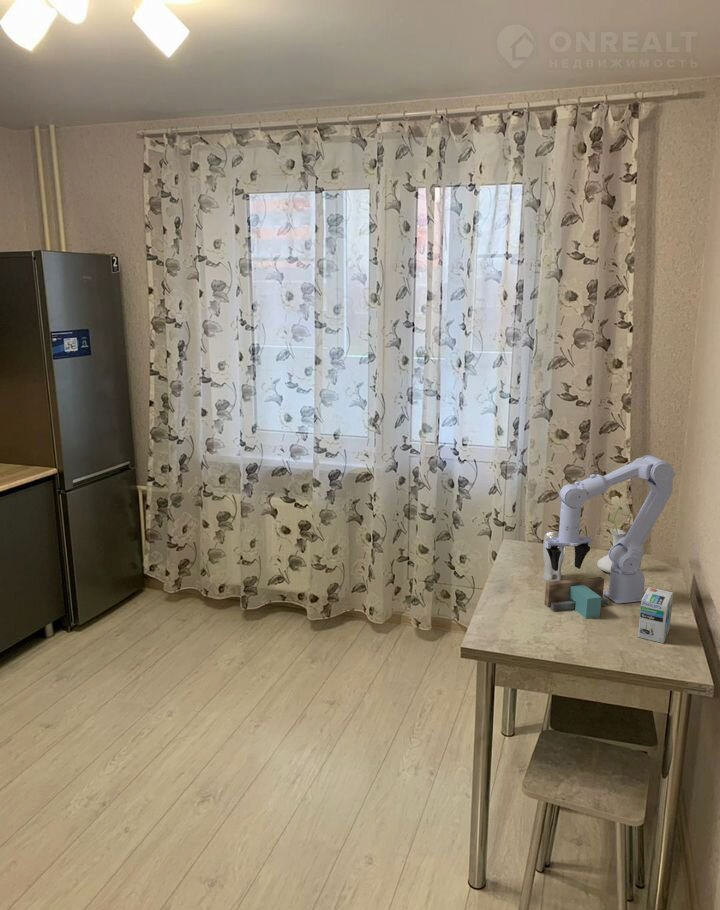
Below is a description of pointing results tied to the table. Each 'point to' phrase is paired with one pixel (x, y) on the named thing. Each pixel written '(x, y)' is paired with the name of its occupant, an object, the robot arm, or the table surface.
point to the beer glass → (549, 573)
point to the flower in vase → (614, 531)
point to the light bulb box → (655, 615)
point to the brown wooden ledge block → (560, 592)
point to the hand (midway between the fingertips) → (566, 568)
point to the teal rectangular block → (585, 601)
